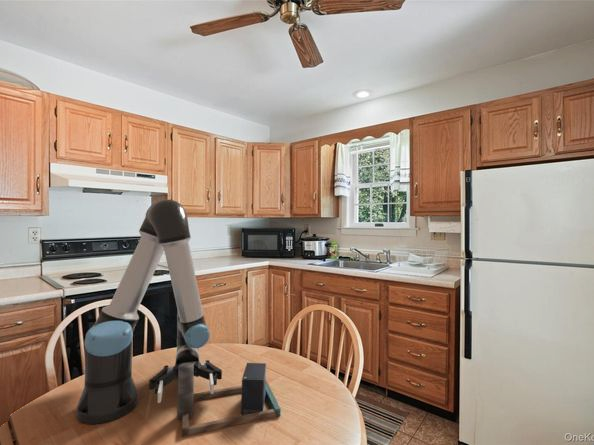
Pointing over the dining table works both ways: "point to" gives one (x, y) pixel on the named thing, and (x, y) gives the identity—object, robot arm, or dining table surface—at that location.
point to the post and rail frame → (188, 397)
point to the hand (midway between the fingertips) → (186, 393)
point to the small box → (253, 388)
